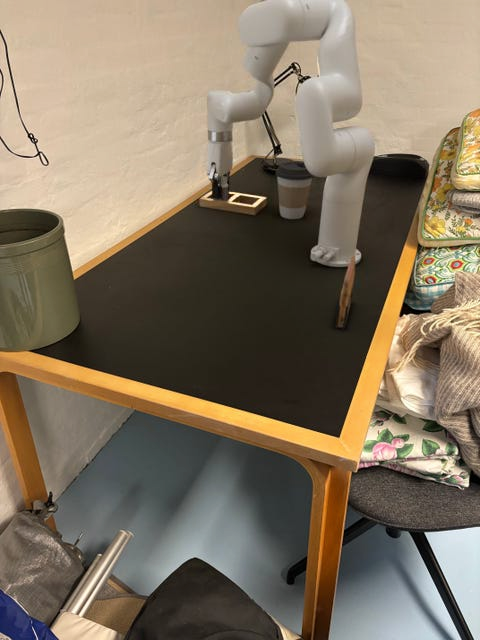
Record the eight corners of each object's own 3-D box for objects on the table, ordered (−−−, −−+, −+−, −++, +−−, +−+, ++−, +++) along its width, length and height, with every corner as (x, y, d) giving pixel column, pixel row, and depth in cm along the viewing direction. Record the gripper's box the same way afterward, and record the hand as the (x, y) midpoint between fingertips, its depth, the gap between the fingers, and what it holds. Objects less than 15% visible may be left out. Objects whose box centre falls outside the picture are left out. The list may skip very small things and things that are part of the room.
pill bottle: (228, 201, 163) (228, 175, 158) (228, 206, 159) (228, 179, 154) (213, 201, 163) (213, 175, 158) (213, 206, 159) (213, 179, 154)
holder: (254, 215, 152) (254, 207, 151) (199, 206, 159) (199, 198, 157) (266, 204, 160) (266, 197, 159) (213, 196, 167) (213, 189, 165)
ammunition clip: (342, 301, 109) (349, 251, 102) (351, 303, 108) (358, 252, 102) (335, 327, 100) (342, 274, 94) (344, 329, 100) (352, 275, 93)
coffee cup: (317, 219, 150) (322, 168, 142) (283, 223, 147) (286, 172, 139) (299, 206, 159) (303, 158, 151) (267, 211, 156) (269, 162, 148)
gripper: (220, 129, 157) (221, 186, 167) (196, 140, 144) (198, 202, 154) (242, 131, 155) (242, 189, 165) (219, 143, 142) (220, 205, 152)
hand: (220, 194), depth 159 cm, fingers closed on pill bottle, 4 cm apart
